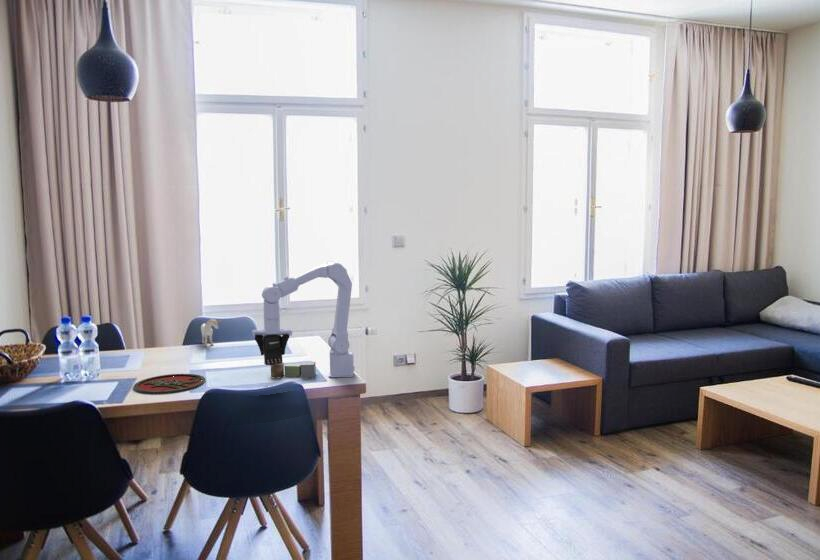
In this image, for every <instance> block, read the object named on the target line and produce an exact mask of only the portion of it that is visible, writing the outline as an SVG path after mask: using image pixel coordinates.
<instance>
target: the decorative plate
mask: <svg viewBox="0 0 820 560" xmlns="http://www.w3.org/2000/svg"><path fill="white" fill-rule="evenodd" d="M173 376H174V377H173ZM201 380H202V381H201ZM206 380H207V379H206V377H204V376H203V375H200V374H195V373H194V374H193V373H171V374H162V375H161V374H160V375H156V376H152V377H148V378H144V379H141V380H139V381H137V382H136V383H134V385H133V390H134V391H135V392H136V393H140V394H145V395H166V394H168V395H169V393H170V394H176V393H182V392H183V393H184V392H187V391H191V389H192V390H194V388H195V389H197V387H198V388H200V387H202V386H204V385H205V384H206ZM204 383H205V384H204ZM203 384H204V385H203ZM201 385H202V386H201ZM199 386H200V387H199Z"/></svg>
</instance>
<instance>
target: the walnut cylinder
mask: <svg viewBox="0 0 820 560" xmlns="http://www.w3.org/2000/svg"><path fill="white" fill-rule="evenodd" d="M284 366H285V365H284V362H283V363H281V364H276V365H270V377H271V378H272V377H274V378H273V379H280V378H283V377H285V368H284ZM279 377H280V378H279Z"/></svg>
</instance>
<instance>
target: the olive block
mask: <svg viewBox="0 0 820 560" xmlns="http://www.w3.org/2000/svg"><path fill="white" fill-rule="evenodd" d="M301 364H302V363H286V364H285V365H284V376H285V375H289V376H288V377H300V376H301Z"/></svg>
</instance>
